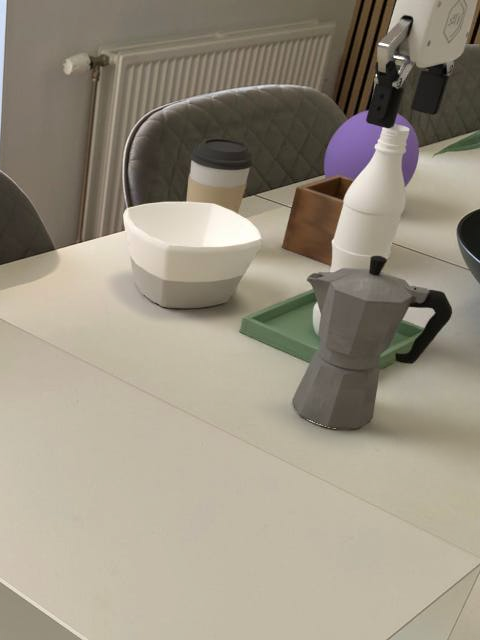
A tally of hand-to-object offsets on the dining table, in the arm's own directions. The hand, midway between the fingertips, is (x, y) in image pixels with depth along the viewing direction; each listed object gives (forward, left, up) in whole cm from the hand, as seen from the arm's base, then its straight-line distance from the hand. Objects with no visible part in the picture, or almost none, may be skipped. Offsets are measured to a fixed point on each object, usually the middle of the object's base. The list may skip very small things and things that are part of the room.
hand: (402, 118), depth 113 cm
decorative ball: (+28, -51, -27) cm, 64 cm away
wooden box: (+18, -28, -27) cm, 42 cm away
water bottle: (0, 0, -26) cm, 26 cm away
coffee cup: (+31, -12, -27) cm, 43 cm away
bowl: (+22, +5, -27) cm, 35 cm away
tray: (0, 0, -27) cm, 27 cm away
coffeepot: (-12, +17, -27) cm, 34 cm away
